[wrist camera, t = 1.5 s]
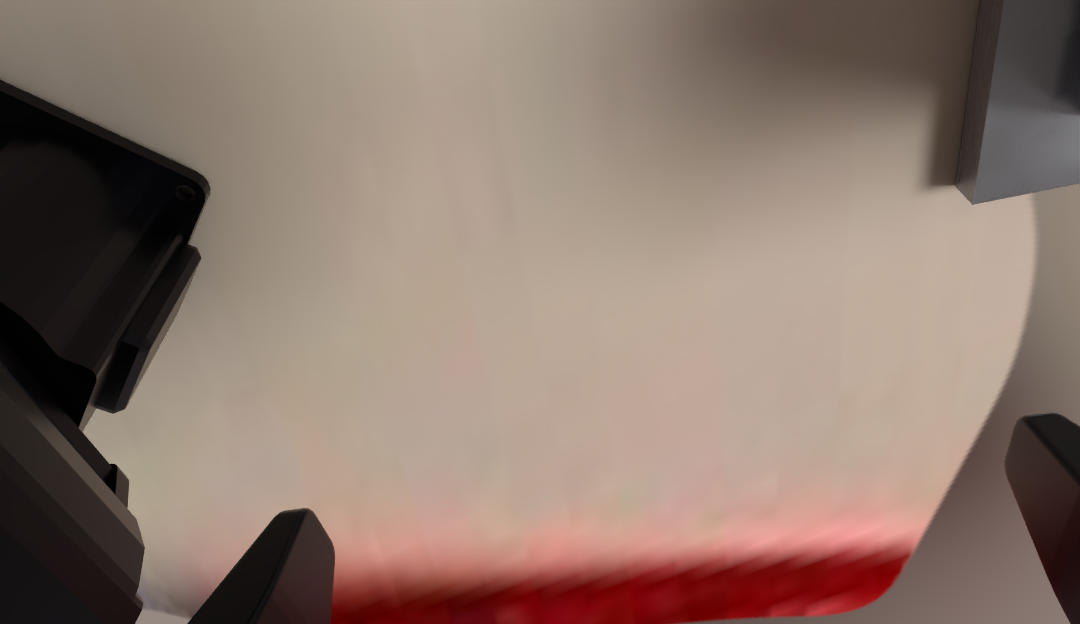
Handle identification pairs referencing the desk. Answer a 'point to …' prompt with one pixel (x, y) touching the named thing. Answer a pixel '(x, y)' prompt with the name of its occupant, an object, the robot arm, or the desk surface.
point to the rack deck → (1022, 100)
